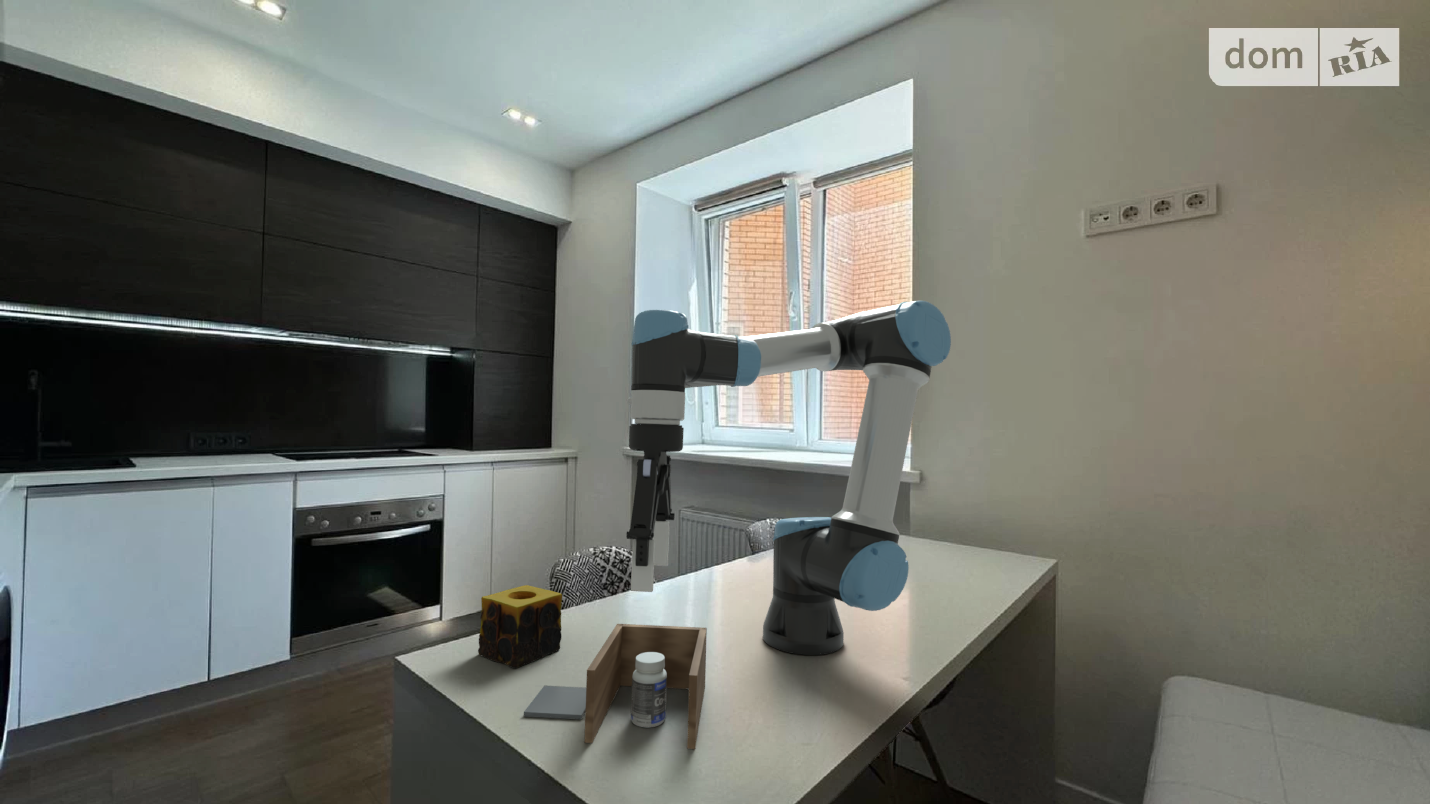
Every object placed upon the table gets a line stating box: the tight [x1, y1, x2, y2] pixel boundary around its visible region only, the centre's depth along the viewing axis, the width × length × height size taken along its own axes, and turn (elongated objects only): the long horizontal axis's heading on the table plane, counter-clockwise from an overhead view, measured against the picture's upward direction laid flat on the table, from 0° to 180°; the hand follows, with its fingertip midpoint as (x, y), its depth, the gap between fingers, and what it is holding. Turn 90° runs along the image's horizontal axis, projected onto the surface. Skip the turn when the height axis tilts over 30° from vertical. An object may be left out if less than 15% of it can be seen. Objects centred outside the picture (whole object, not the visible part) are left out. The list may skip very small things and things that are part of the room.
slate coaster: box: [523, 684, 586, 720], centre depth 82 cm, size 8×8×1 cm
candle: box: [477, 584, 563, 669], centre depth 100 cm, size 10×10×10 cm
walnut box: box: [583, 623, 708, 750], centre depth 80 cm, size 14×17×9 cm
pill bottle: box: [630, 652, 668, 729], centre depth 78 cm, size 5×5×8 cm
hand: (651, 577), depth 79 cm, fingers open, 13 cm apart
